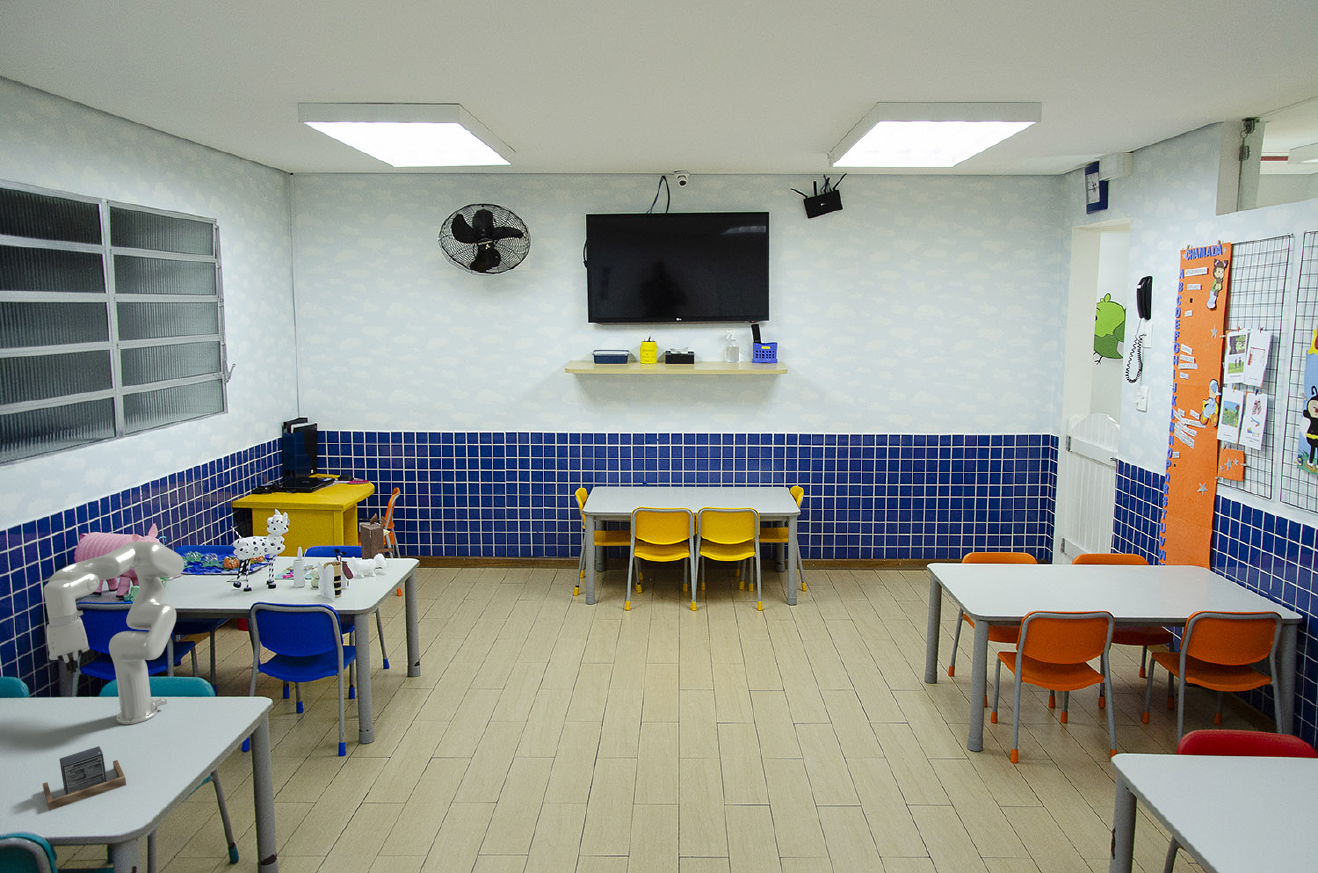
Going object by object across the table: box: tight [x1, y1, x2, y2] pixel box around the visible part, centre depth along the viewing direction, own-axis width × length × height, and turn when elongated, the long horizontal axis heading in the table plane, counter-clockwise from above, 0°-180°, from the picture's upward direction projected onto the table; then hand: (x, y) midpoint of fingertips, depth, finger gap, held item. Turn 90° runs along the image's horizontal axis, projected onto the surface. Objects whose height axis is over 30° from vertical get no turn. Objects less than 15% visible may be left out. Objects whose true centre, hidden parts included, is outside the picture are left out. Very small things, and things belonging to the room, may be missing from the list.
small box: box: [59, 745, 108, 795], centre depth 257 cm, size 11×6×10 cm, turn 132°
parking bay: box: [42, 759, 127, 811], centre depth 257 cm, size 19×13×2 cm
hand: (72, 671), depth 272 cm, fingers closed
